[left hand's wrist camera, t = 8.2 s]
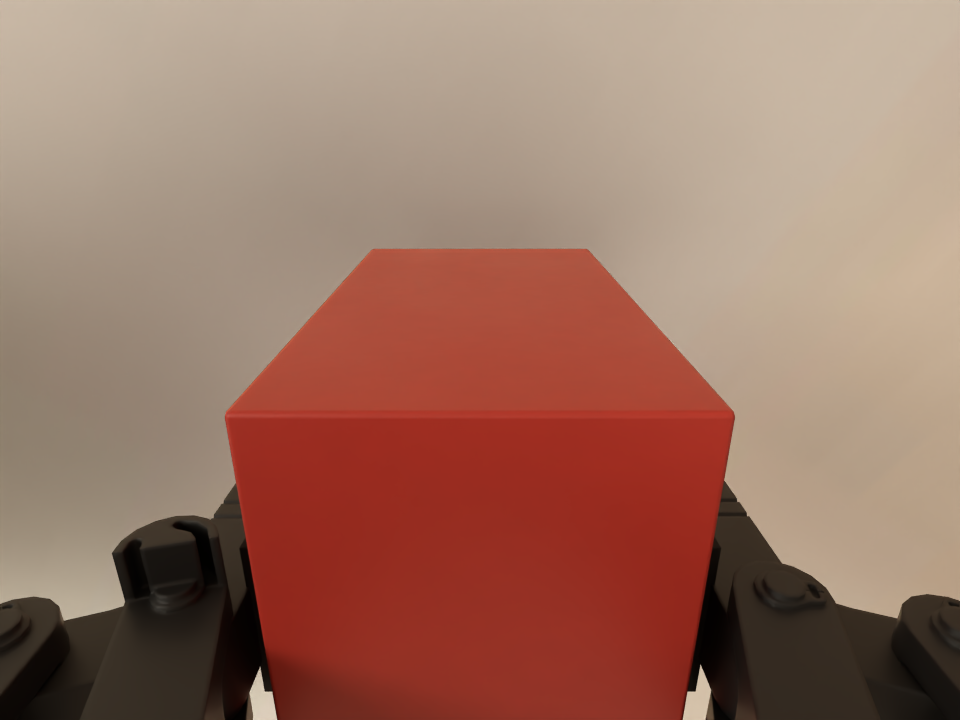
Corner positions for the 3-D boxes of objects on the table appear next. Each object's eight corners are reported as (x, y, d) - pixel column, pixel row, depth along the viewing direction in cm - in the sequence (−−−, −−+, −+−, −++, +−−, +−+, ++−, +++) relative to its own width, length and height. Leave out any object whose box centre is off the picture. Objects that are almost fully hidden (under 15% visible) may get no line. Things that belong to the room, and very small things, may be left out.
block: (390, 530, 17) (307, 901, 9) (371, 248, 14) (220, 413, 6) (569, 530, 17) (652, 901, 9) (588, 247, 14) (738, 413, 6)
